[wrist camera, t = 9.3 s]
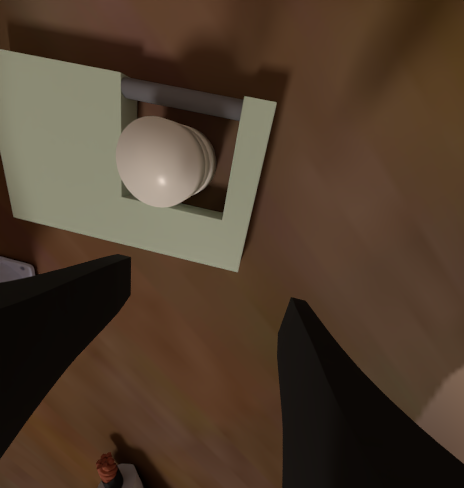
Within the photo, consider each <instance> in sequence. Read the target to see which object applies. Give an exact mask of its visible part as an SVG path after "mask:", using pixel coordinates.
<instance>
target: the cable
mask: <svg viewBox="0 0 464 488" xmlns="http://www.w3.org/2000/svg"><path fill="white" fill-rule="evenodd" d="M114 461H115V460H114V459H113V458H112V455H111V452H109V453H107V454H103V455H102V456H101V459H100V460H98V461H97V463H96V465H97V470H98V473H99V475H100V477H101V479H102V481H101V482H100V484H99V486H98V488H145V487H144V484H143V482H142V481H141V480H140V478H139V475H138V473H137V471H136V469H135V467H134V465H133V464H119V465H116V463H114Z"/></svg>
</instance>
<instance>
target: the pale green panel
mask: <svg viewBox="0 0 464 488" xmlns="http://www.w3.org/2000/svg"><path fill="white" fill-rule="evenodd" d="M137 101H142V102H147V103H152V104H157V105H162V106H167V107H172V108H177V109H182V110H187V111H192V112H197V113H202V114H207V115H212V116H217V117H222V118H227V119H232V120H237V121H240V123H239V129H238V134H237V140H236V145H235V151H234V156H233V162H232V167H231V173H230V179H229V184H228V190H227V195H226V201H225V206H224V212H223V213H222V212H217V211H213V210H209V209H204V208H200V207H195V206H191V205H187V204H182V203H179V204H177V205H174V206H171V207H164V208H161V207H154V206H150V205H147V204H145V203H143V202H142V201H140V200H138V199H137V198H136V197H135V196H133V195H132V194H131V193H130V191H129V190H128V189H127V188H126V186H125V185H124V183H123V181H122V179H121V177H120V175H119V172H118V169H117V164H116V147H117V143H118V140H119V137H120V135H121V133H122V132H123V130H124V129H125V128H126V127H127V126H128V125H129V124H130V123H131V122H133V121H134V120H136V119H137ZM276 104H277V102H272V101H267V100H262V99H257V98H252V97H246V96H244V100H243V99H237V98H232V97H227V96H222V95H217V94H211V93H206V92H201V91H196V90H191V89H186V88H180V87H175V86H170V85H165V84H160V83H155V82H149V81H144V80H139V79H134V78H130V77H128V76H126V75H125V74H123V73H121V72H116V71H111V70H106V69H101V68H95V67H90V66H85V65H80V64H75V63H69V62H64V61H59V60H54V59H49V58H43V57H38V56H33V55H28V54H23V53H17V52H12V51H7V50H2V49H0V153H1V158H2V162H3V167H4V172H5V177H6V182H7V187H8V192H9V197H10V202H11V207H12V211H13V216H14V217H15V218H19V219H23V220H27V221H31V222H35V223H39V224H43V225H47V226H51V227H55V228H59V229H64V230H68V231H72V232H76V233H80V234H84V235H88V236H92V237H96V238H100V239H104V240H108V241H112V242H116V243H121V244H125V245H129V246H133V247H137V248H141V249H145V250H149V251H153V252H157V253H161V254H165V255H169V256H173V257H178V258H182V259H186V260H190V261H194V262H198V263H202V264H206V265H210V266H214V267H218V268H222V269H226V270H230V271H235V272H238V269H239V265H240V261H241V257H242V252H243V248H244V244H245V239H246V235H247V231H248V226H249V222H250V218H251V213H252V209H253V205H254V201H255V196H256V192H257V188H258V183H259V179H260V175H261V170H262V166H263V162H264V157H265V153H266V149H267V144H268V140H269V136H270V131H271V127H272V123H273V119H274V114H275V110H276Z"/></svg>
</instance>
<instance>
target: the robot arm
mask: <svg viewBox="0 0 464 488" xmlns="http://www.w3.org/2000/svg"><path fill="white" fill-rule="evenodd" d="M130 295H131V257H128V256H124V255H120V254H116V255H111V256H107V257H103V258H99V259H96V260H92V261H88V262H85V263H81V264H78V265H74V266H70V267H67V268H63V269H59V270H55V271H51V272H47V273H43V274H39V275H35V270H34V267H33V266H32V265H31V264H28V263H24V262H20V261H16V260H12V259H8V258H5V257H1V256H0V458H1V457H2V455H3V454H4V453H5V451H6V450H7V448H8V447H9V446H10V444H11V443H12V441H13V440H14V438H15V437H16V436H17V434H18V433H19V431H20V430H21V429H22V427H23V426H24V424H25V423H26V421H27V420H28V419H29V417H30V416H31V415H32V413H33V412H34V411H35V409H36V408H37V407H38V405H39V404H40V403H41V401H42V400H43V399H44V397H45V396H46V395H47V393H48V392H49V391H50V389H51V388H52V387H53V386H54V384H55V383H56V382H57V380H58V379H59V378H60V377H61V375H62V374H63V373H64V372H65V370H66V369H67V368H68V367H69V365H70V364H71V363H72V362H73V361H74V360H75V358H76V357H77V356H78V355H79V354H80V353H81V352H82V351H83V350H84V349H85V348H86V347H87V346H88V345H89V343H90V342H91V341H92V340H93V339H94V338H95V337H96V336H97V335H98V334H99V333H100V332H101V331H102V330H103V329H104V327H105V326H106V325H107V324H108V323H109V322H110V321H111V320H112V319H113V318H114V317H115V315H116V314H117V313H118V312H119V311H120V309H121V308H122V306H123V305H124V304H125V302H126V301H127V299H128V298H129V296H130ZM277 360H278V372H279V384H280V396H281V407H282V422H283V483H282V488H464V464H463V463H462V462H461V461H459V460H458V459H457V458H456V457H455V456H453V455H452V454H451V453H450V452H449V451H447V450H446V449H445V448H444V447H442V446H441V445H440V444H439V443H438V442H436V441H435V440H434V439H433V438H432V437H431V436H430V435H428V434H427V433H426V432H425V431H424V430H423V429H421V428H420V427H419V426H418V425H417V424H416V423H415V422H414V421H413V420H412V419H410V418H409V417H408V416H407V415H406V414H405V413H404V412H403V411H402V410H401V409H400V408H398V407H397V406H396V405H395V404H394V403H393V402H392V401H391V400H390V399H389V398H388V397H387V396H386V395H385V394H384V393H383V392H382V391H381V390H380V389H379V388H378V387H377V386H376V385H375V384H374V383H373V382H372V381H371V380H370V379H369V378H368V377H367V376H366V375H365V374H364V373H363V372H362V371H361V370H360V368H359V367H358V366H357V365H356V364H355V363H354V362H353V361H352V359H351V358H350V357H349V356H348V355H347V354H346V352H345V351H344V350H343V349H342V348H341V347H340V345H339V344H338V343H337V342H336V340H335V339H334V338H333V337H332V335H331V334H330V333H329V331H328V330H327V329H326V327H325V326H324V325H323V323H322V322H321V321H320V319H319V318H318V317H317V315H316V314H315V313H314V311H313V310H312V309H311V307H310V306H309V305H308V303H307V302H306V301H304V300H300V299H296V298H292V297H291V299H290V302H289V305H288V307H287V310H286V313H285V316H284V318H283V321H282V324H281V327H280V330H279V332H278V347H277Z"/></svg>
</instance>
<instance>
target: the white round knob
mask: <svg viewBox="0 0 464 488" xmlns="http://www.w3.org/2000/svg"><path fill="white" fill-rule="evenodd" d="M116 164H117V169H118V172H119V175H120V177H121V179H122V181H123V183H124V185H125V186H126V188H127V189H128V190H129V191H130V193H131V194H132V195H133V196H135V197H136V198H137V199H138V200H140V201H142V202H143V203H145V204H147V205H150V206H154V207H161V208H164V207H171V206H174V205H177V204H179V203H181V202H182V201H184V200H186V199H188V198H189V197H191V196H192V195H194V194H196V193H198V192H200V191H201V190H203V189H204V188H206V187H207V186H208V185H209V183H210V182H211V181H212V179H213V177H214V174H215V171H216V155H215V151H214V149H213V146H212V144H211V143H210V141H209V140H208V138H207V137H206V136H205V135H204V134H203V133H201V132H200V131H198V130H197V129H195V128H192V127H189V126H186V125H183V124H179V123H177V122H174V121H171V120H168V119H165V118H162V117H157V116H146V117H141V118H138V119H136V120H134V121H133V122H131V123H130V124H129V125H128V126H127V127H126V128H125V129H124V130H123V132H122V133H121V135H120V137H119V140H118V143H117V147H116Z"/></svg>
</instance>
